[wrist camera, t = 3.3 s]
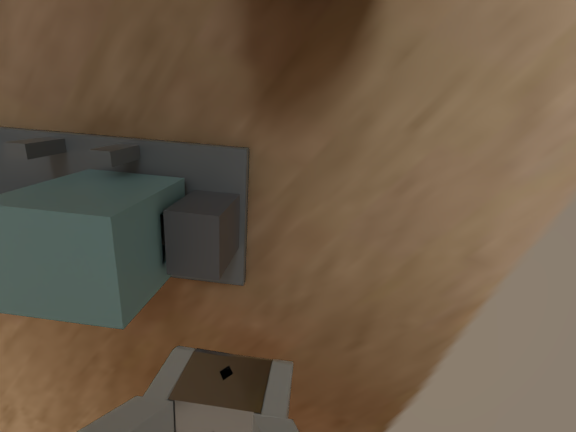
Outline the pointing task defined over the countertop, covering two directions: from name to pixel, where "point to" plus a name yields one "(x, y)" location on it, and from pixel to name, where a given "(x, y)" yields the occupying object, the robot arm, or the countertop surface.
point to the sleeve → (85, 246)
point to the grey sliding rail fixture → (163, 162)
